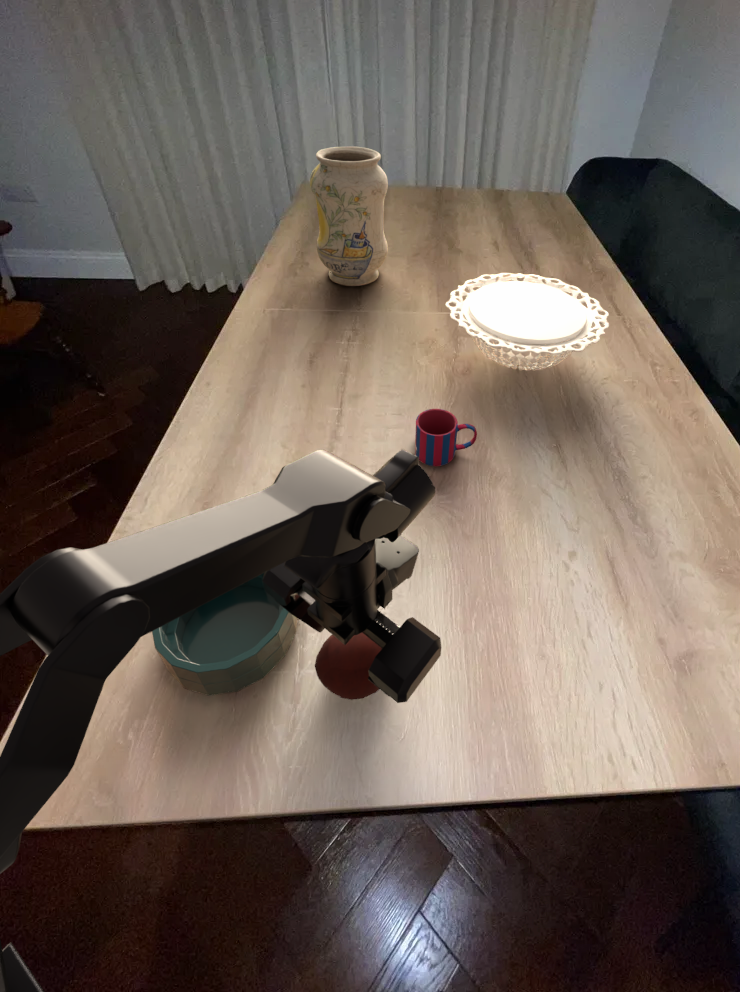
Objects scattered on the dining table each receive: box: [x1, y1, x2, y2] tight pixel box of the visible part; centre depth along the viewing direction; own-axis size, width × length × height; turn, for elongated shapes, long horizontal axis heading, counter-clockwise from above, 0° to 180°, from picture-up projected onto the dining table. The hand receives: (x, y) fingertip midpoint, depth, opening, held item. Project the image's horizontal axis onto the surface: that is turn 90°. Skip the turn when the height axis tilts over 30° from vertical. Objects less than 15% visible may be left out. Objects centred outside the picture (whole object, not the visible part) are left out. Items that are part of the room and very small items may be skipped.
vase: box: [309, 145, 389, 287], centre depth 129 cm, size 18×18×30 cm
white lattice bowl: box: [444, 272, 610, 372], centre depth 107 cm, size 32×32×13 cm
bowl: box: [151, 573, 298, 696], centre depth 61 cm, size 15×15×6 cm
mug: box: [414, 408, 478, 467], centre depth 86 cm, size 7×10×7 cm
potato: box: [314, 633, 382, 701], centre depth 58 cm, size 7×8×7 cm
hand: (353, 653), depth 57 cm, fingers open, 9 cm apart
